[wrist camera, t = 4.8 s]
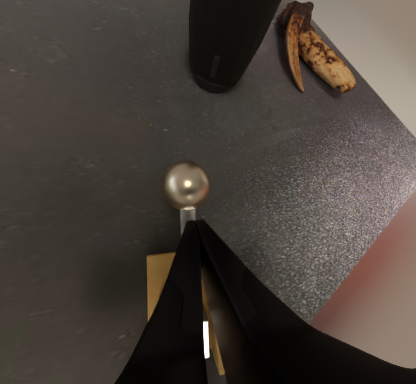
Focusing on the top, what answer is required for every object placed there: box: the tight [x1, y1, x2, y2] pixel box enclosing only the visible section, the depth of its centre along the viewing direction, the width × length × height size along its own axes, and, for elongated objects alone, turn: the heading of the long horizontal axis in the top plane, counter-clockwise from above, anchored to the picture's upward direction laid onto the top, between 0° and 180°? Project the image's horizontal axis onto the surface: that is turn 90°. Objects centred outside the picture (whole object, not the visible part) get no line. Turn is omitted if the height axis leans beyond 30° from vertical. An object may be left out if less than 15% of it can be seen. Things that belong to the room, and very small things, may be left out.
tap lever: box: [161, 161, 211, 358], centre depth 13 cm, size 14×4×4 cm, turn 4°
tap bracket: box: [147, 252, 225, 375], centre depth 16 cm, size 10×8×9 cm
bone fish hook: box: [276, 1, 356, 94], centre depth 29 cm, size 9×5×18 cm
